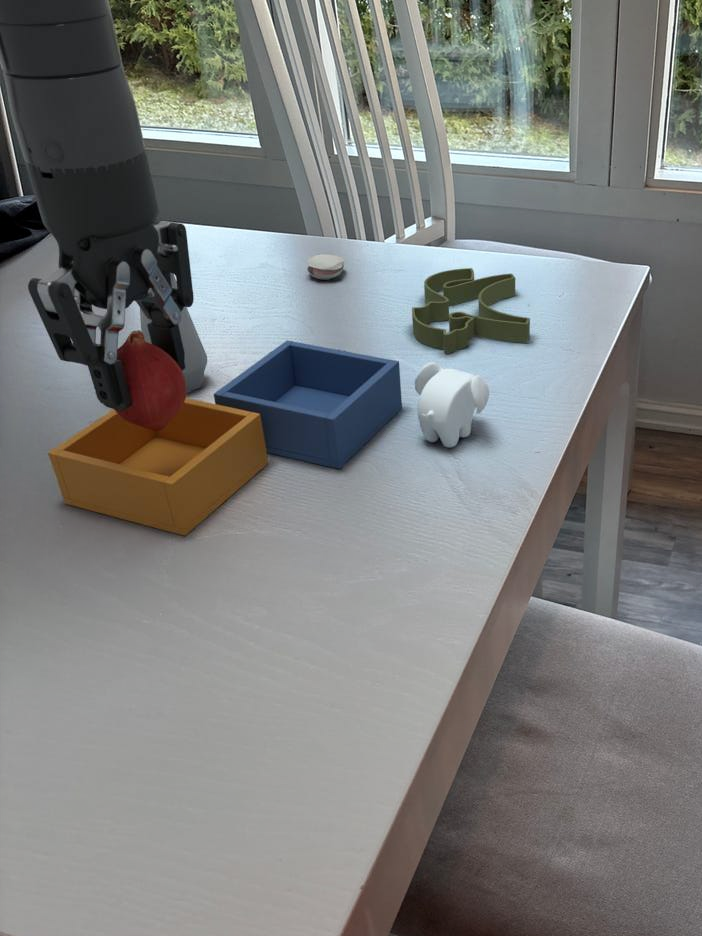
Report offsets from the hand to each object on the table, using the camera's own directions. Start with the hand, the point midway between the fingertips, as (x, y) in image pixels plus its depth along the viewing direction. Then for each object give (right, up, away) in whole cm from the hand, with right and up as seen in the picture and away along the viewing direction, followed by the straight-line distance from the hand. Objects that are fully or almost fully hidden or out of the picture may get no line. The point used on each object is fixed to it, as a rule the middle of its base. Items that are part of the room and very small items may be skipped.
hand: (145, 387), depth 73 cm
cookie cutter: (+24, +15, +30) cm, 42 cm away
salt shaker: (-3, +5, +19) cm, 20 cm away
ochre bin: (0, -6, +5) cm, 8 cm away
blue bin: (+11, 0, +13) cm, 17 cm away
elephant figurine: (+23, -1, +11) cm, 26 cm away
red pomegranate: (0, -3, +2) cm, 4 cm away
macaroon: (+8, +24, +40) cm, 47 cm away
